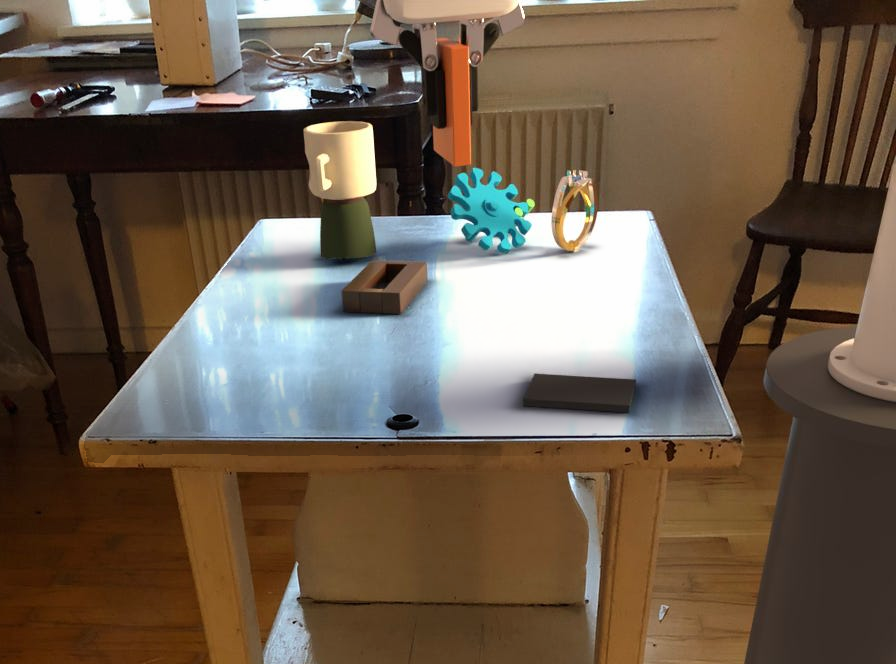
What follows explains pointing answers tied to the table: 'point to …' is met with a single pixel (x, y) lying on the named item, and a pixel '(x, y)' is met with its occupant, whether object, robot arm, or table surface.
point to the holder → (395, 297)
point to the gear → (490, 211)
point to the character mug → (343, 186)
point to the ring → (561, 210)
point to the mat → (580, 393)
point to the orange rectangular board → (455, 104)
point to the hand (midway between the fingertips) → (450, 123)
